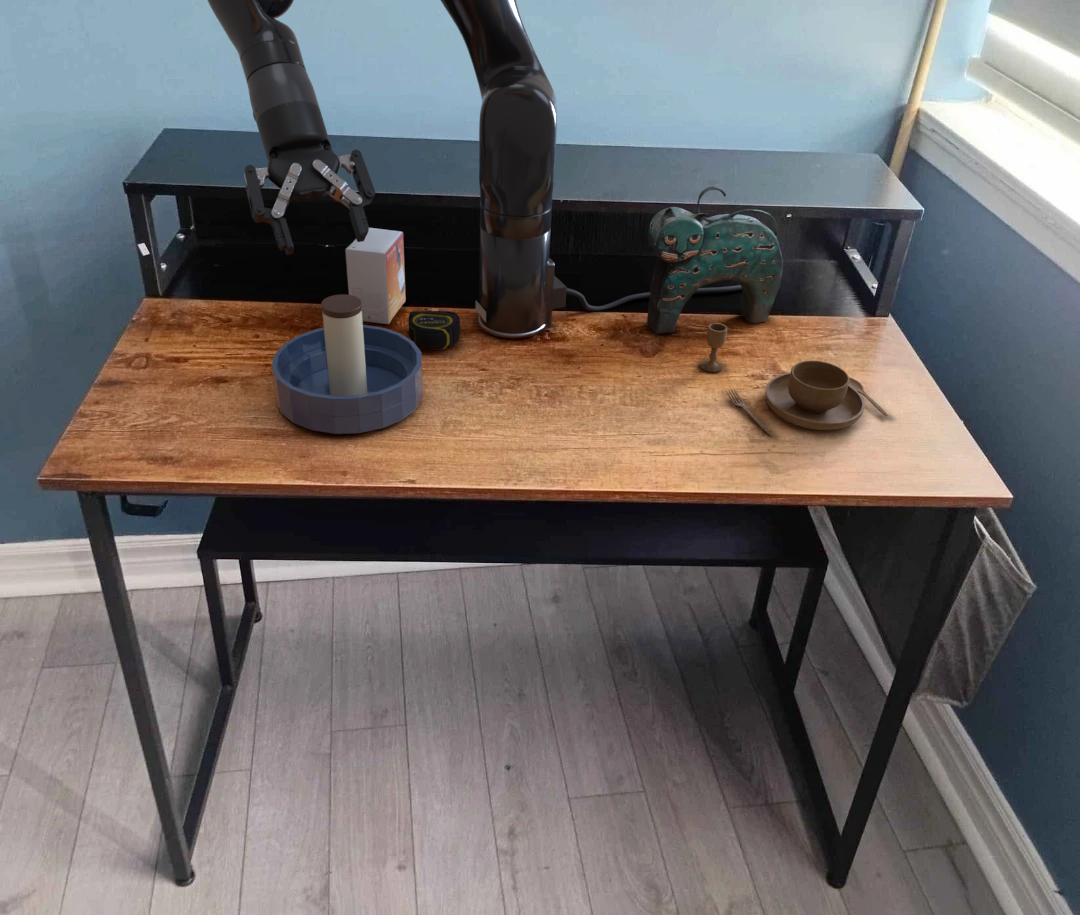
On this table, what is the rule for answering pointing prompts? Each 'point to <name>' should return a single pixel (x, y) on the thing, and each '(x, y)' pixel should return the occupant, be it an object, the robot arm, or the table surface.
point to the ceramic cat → (711, 261)
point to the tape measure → (434, 329)
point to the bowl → (384, 404)
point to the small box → (377, 274)
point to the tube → (344, 345)
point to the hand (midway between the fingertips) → (326, 245)
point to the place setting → (803, 391)
